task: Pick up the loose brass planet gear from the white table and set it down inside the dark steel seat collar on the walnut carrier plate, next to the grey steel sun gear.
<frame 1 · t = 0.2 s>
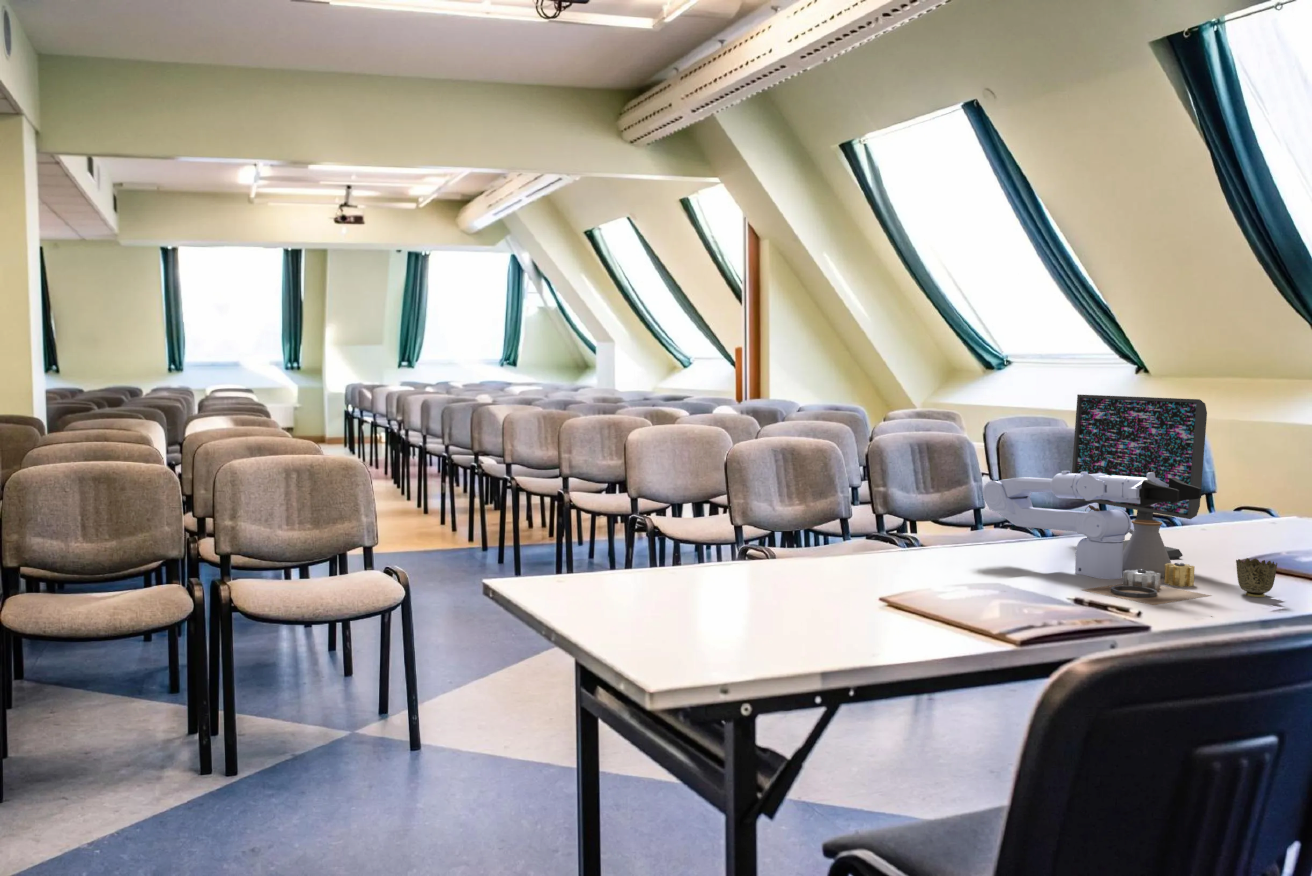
hand: (1189, 494, 234), 21 cm above the table, tool horizontal, fingers open, 7 cm apart
cup: (1254, 600, 231), on the table
planet gear: (1178, 588, 243), on the table
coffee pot: (1125, 575, 258), on the table
sun gear: (1141, 586, 239), resting on carrier plate
carrier plate: (1145, 597, 233), on the table
computer monitor: (1130, 555, 288), on the table
seat collar: (1133, 593, 231), resting on carrier plate
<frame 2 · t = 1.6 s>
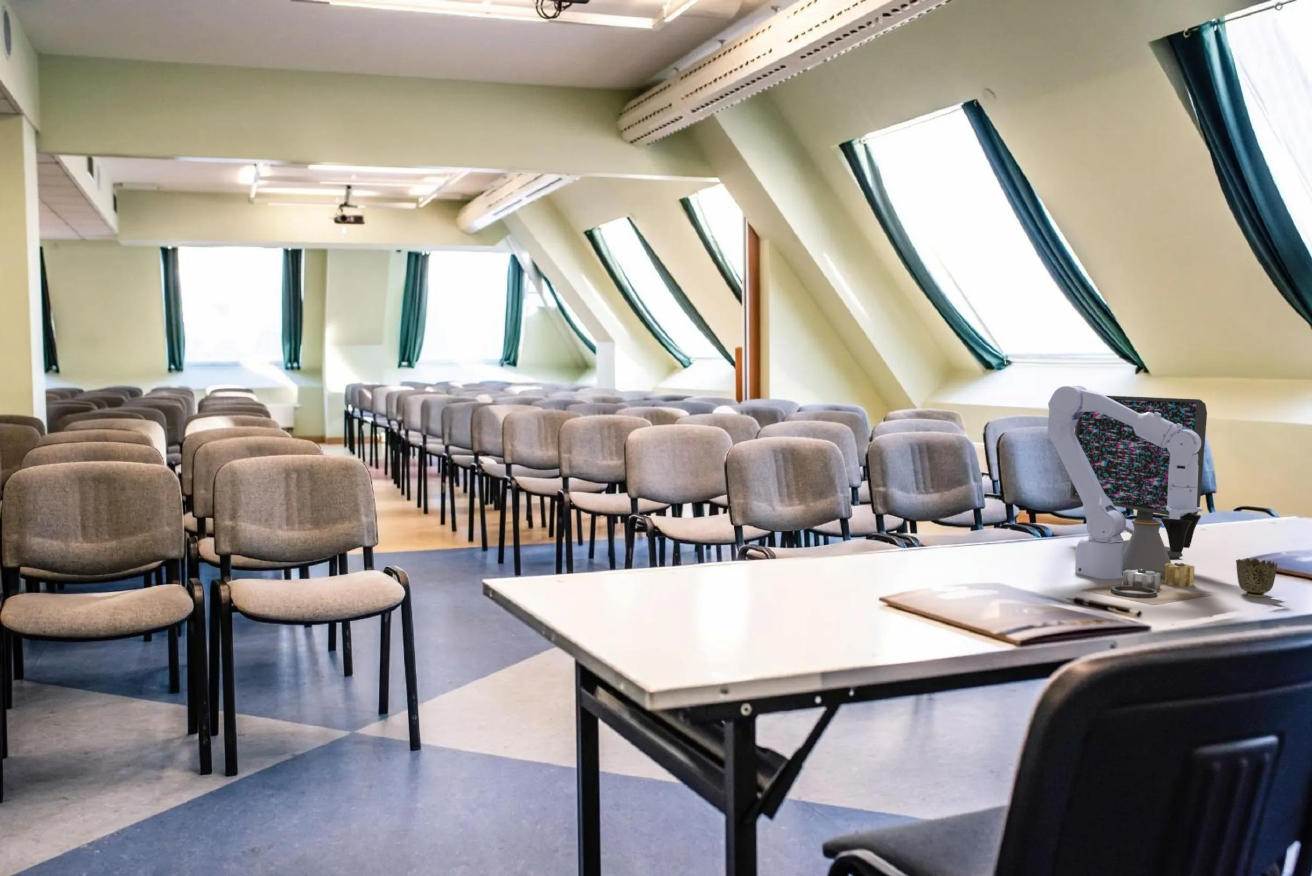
hand: (1180, 549, 242), 8 cm above the table, tool pointing down, fingers open, 7 cm apart
nothing on the table moved.
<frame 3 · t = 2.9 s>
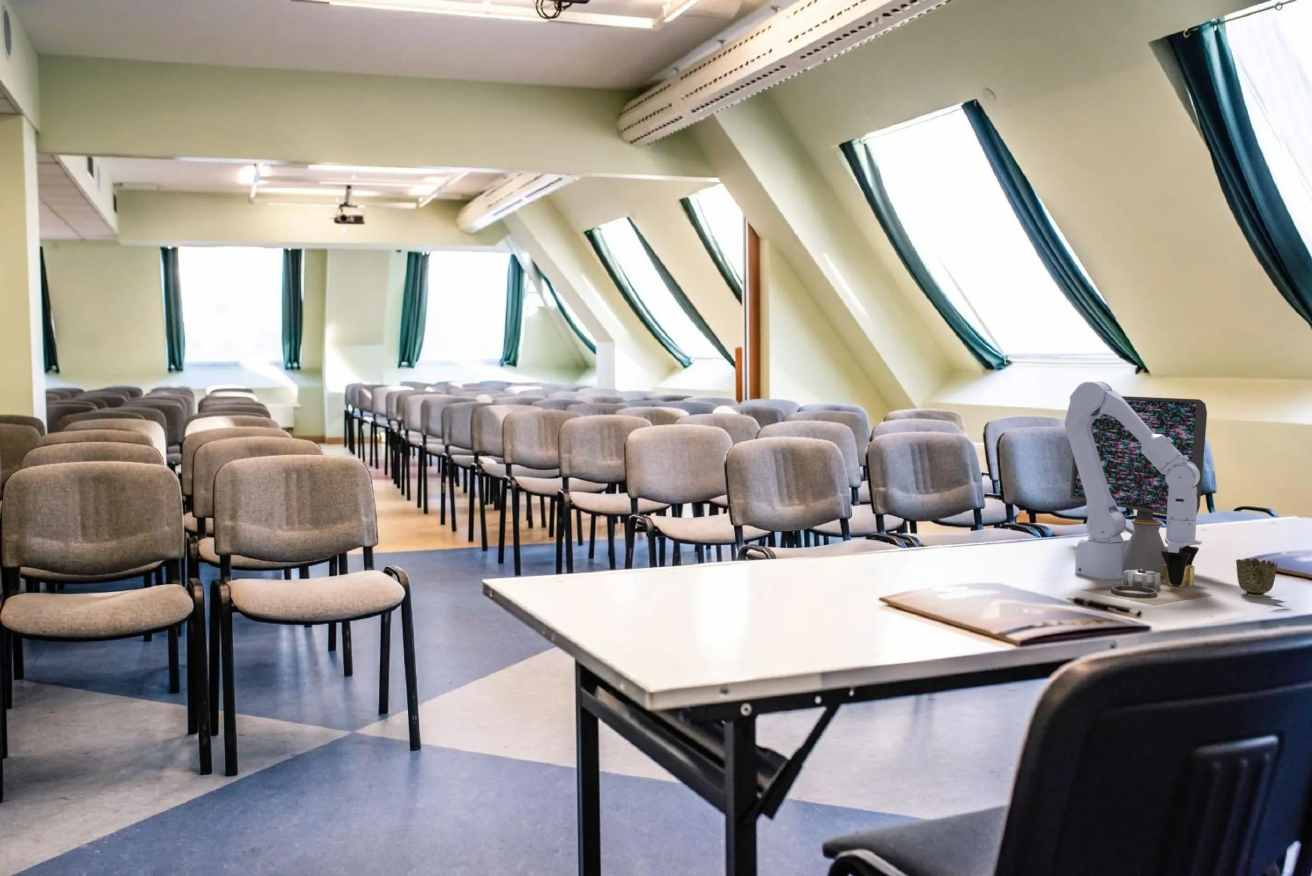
hand: (1178, 581, 242), 1 cm above the table, tool pointing down, fingers closed on planet gear, 6 cm apart
planet gear: (1178, 588, 243), on the table, touching gripper
everything else where it was.
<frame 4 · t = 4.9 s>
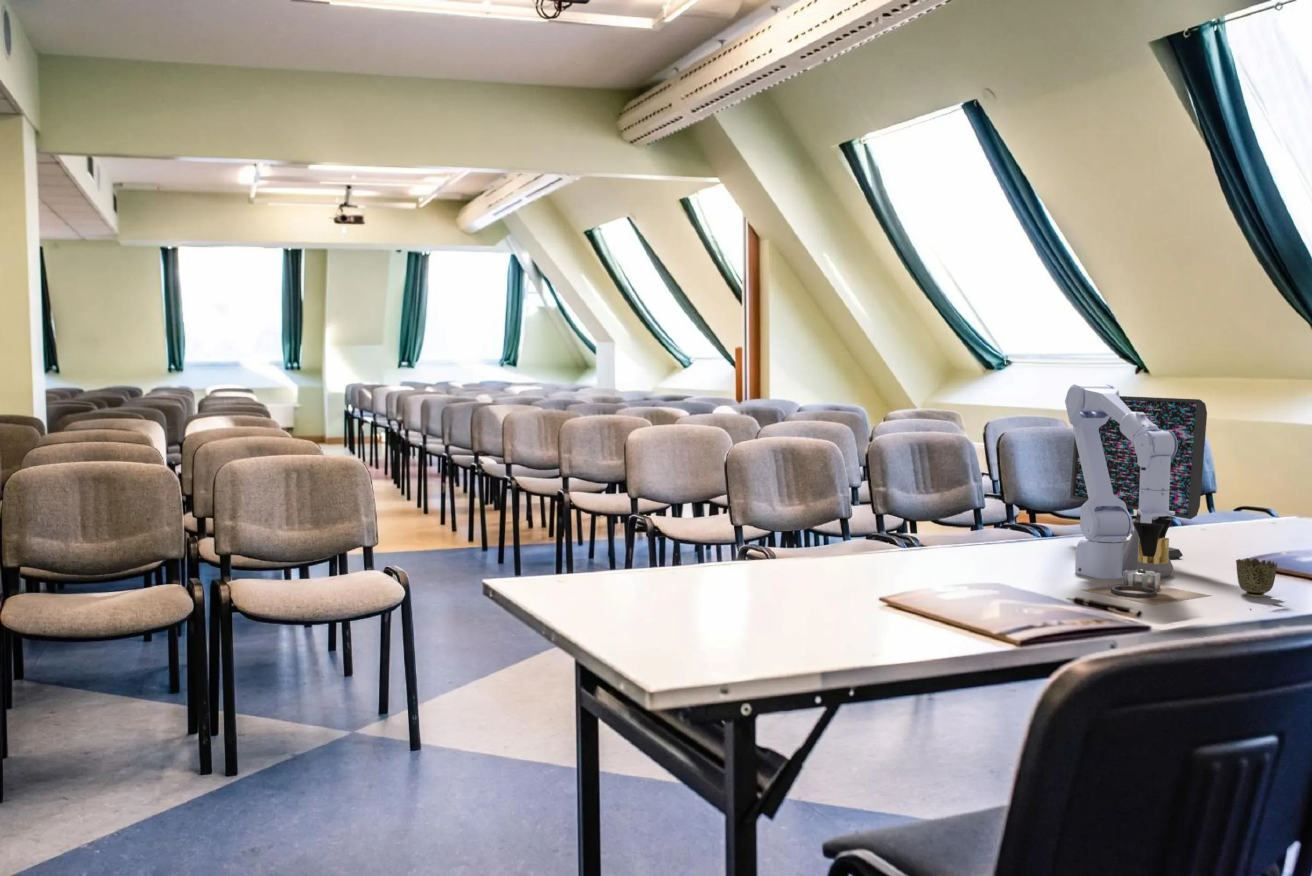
hand: (1151, 554, 235), 8 cm above the table, tool pointing down, fingers closed on planet gear, 6 cm apart
planet gear: (1152, 561, 235), point 7 cm above the table, touching gripper
everything else where it was.
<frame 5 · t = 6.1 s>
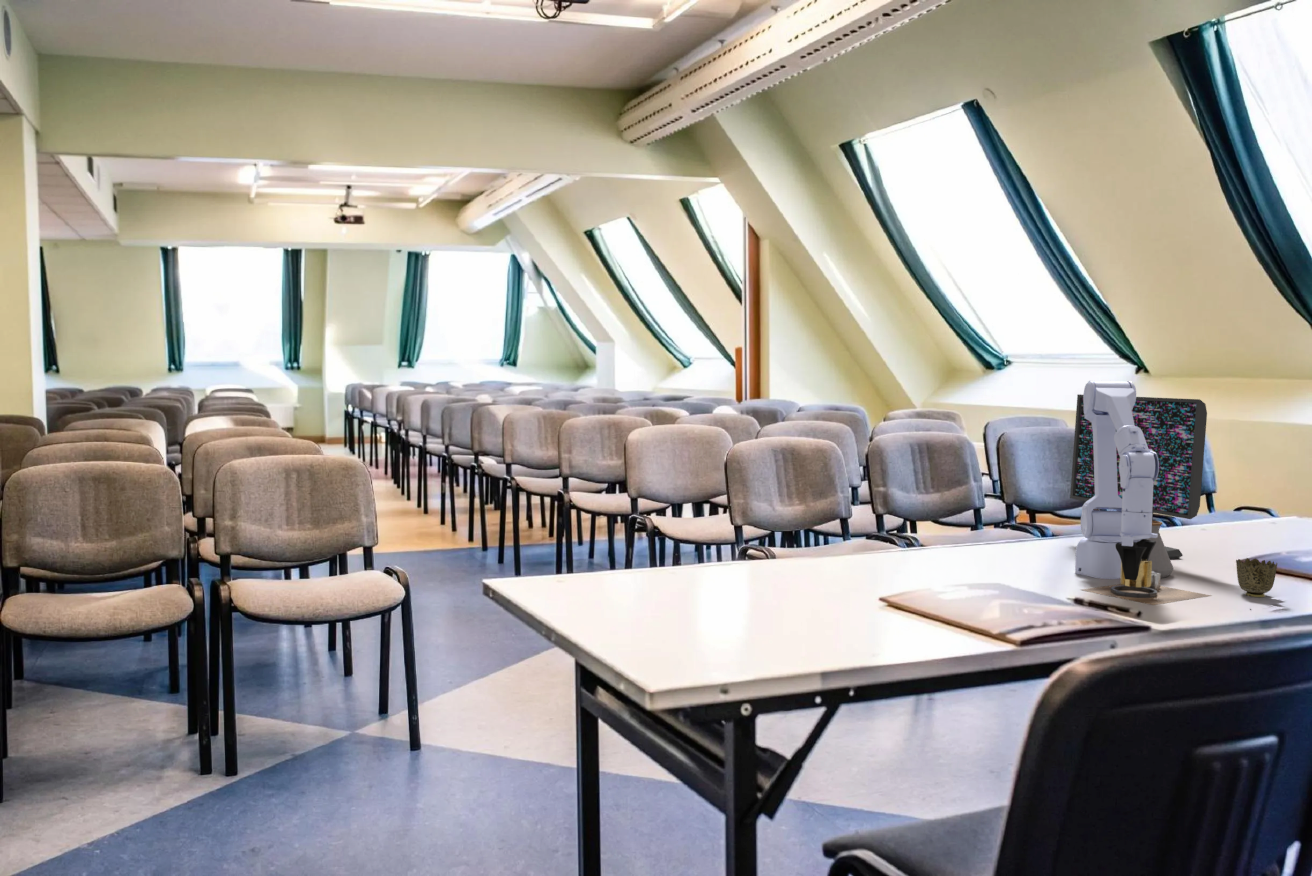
hand: (1134, 577, 231), 4 cm above the table, tool pointing down, fingers closed on planet gear, 6 cm apart
planet gear: (1135, 584, 231), point 3 cm above the table, touching gripper
everything else where it was.
when the fingers open (4 cm above the table, at t = 7.2 s): planet gear drops 1 cm, resting on carrier plate.
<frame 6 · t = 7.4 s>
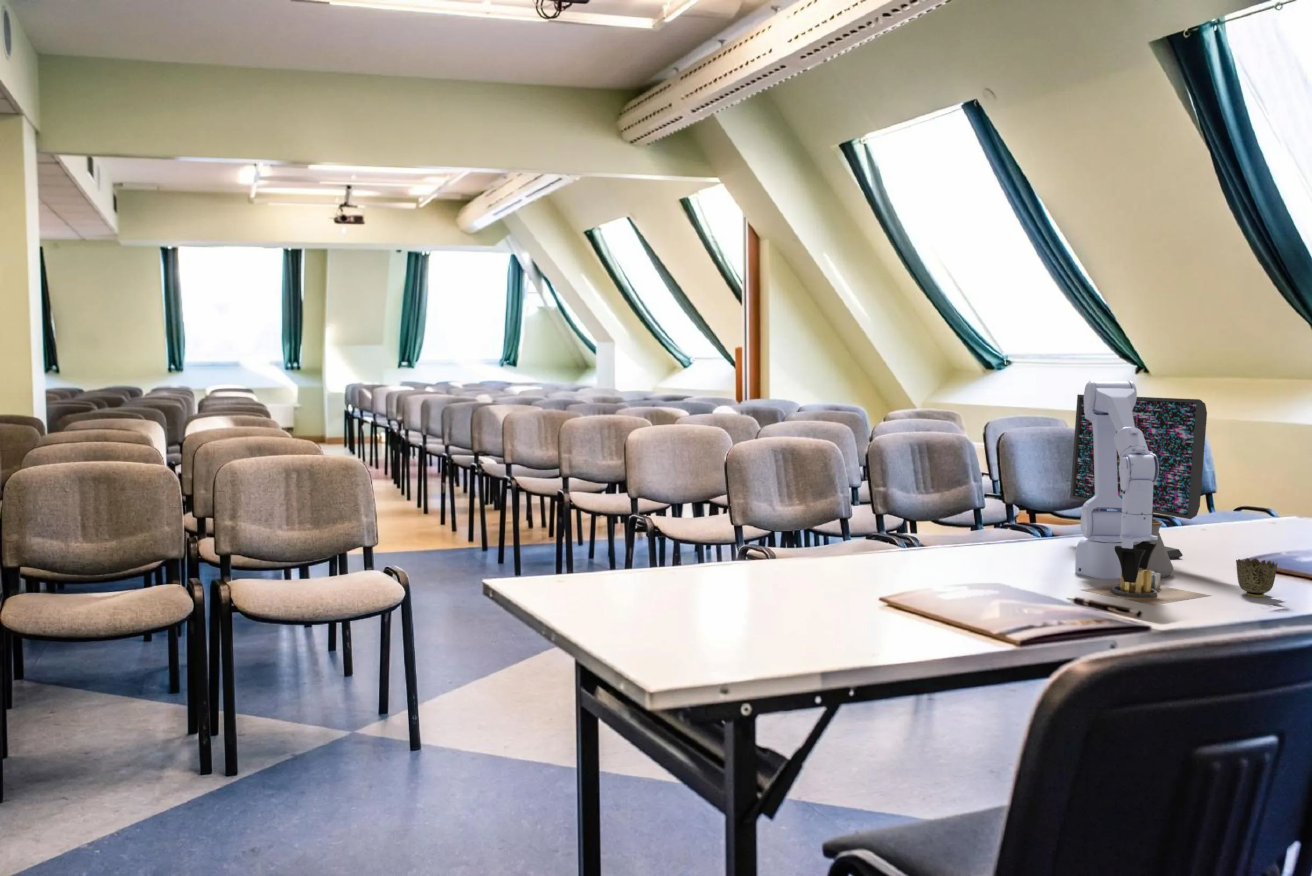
hand: (1134, 579, 231), 4 cm above the table, tool pointing down, fingers open, 7 cm apart
planet gear: (1135, 593, 231), point 1 cm above the table, touching carrier plate
everything else where it was.
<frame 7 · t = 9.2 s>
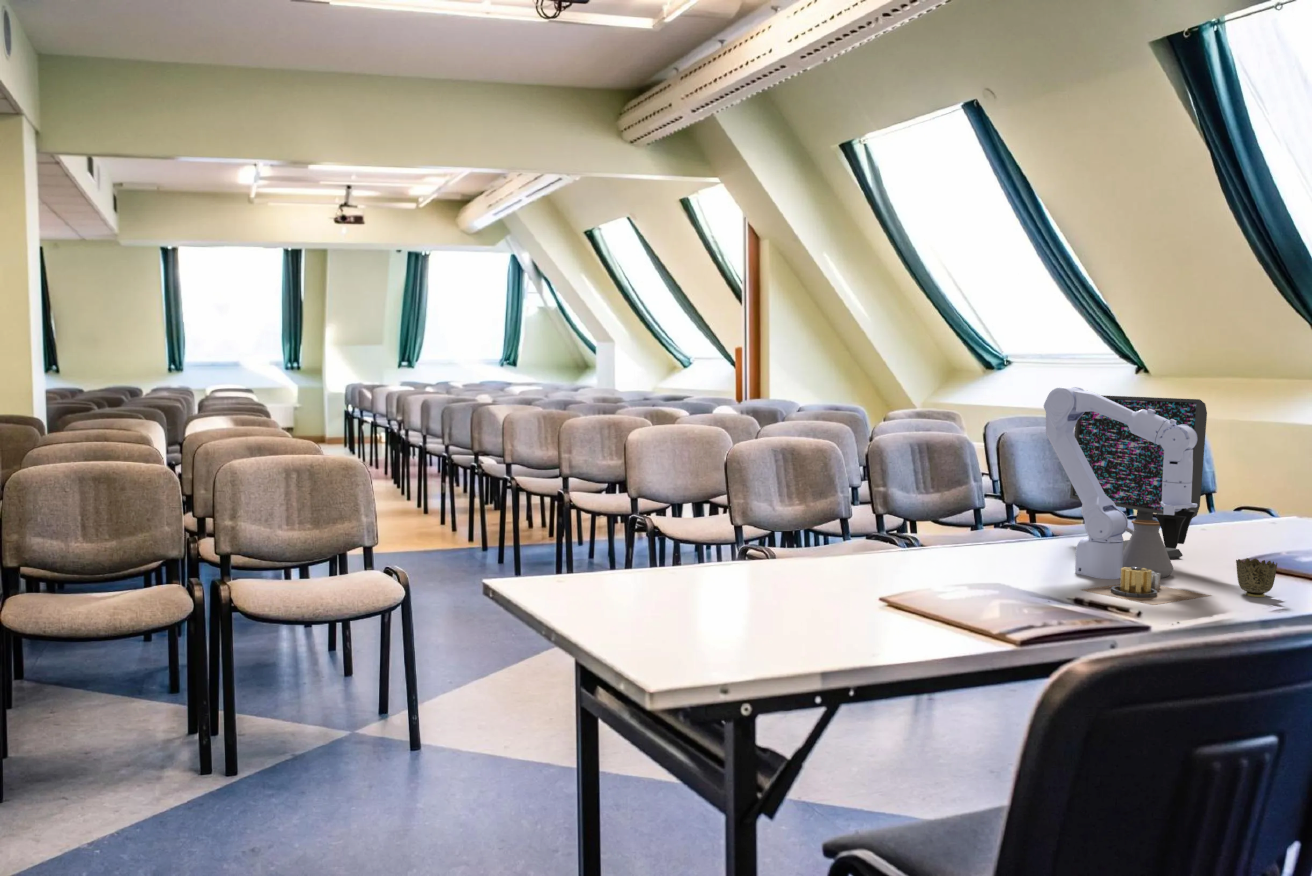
hand: (1174, 545, 241), 9 cm above the table, tool pointing down, fingers open, 7 cm apart
nothing on the table moved.
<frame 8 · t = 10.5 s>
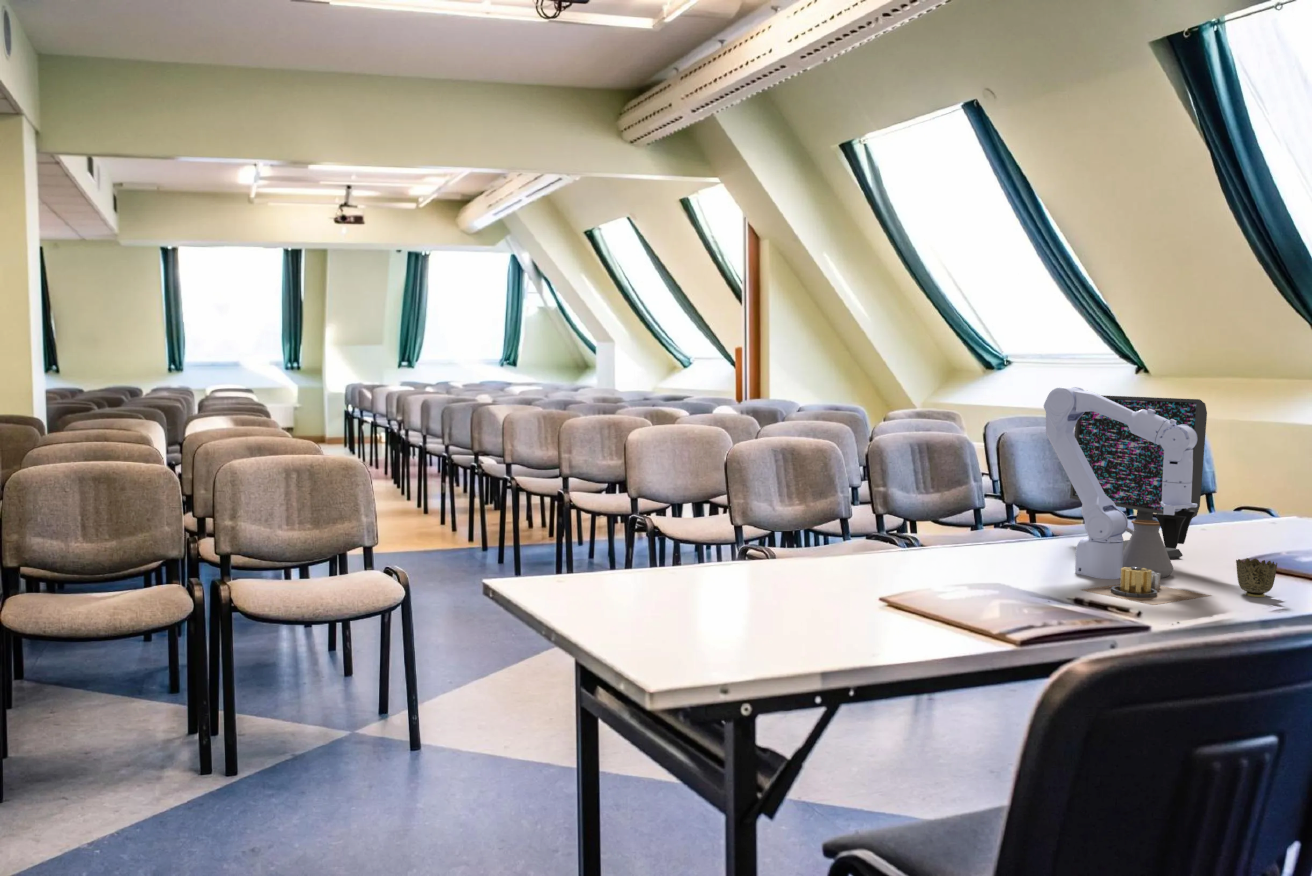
hand: (1174, 545, 241), 9 cm above the table, tool pointing down, fingers open, 7 cm apart
nothing on the table moved.
at the end: planet gear 0.3 cm off-centre on the seat collar, point 0.0 cm above the seat collar's base; planet gear tilted 0°; the gripper is holding nothing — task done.
